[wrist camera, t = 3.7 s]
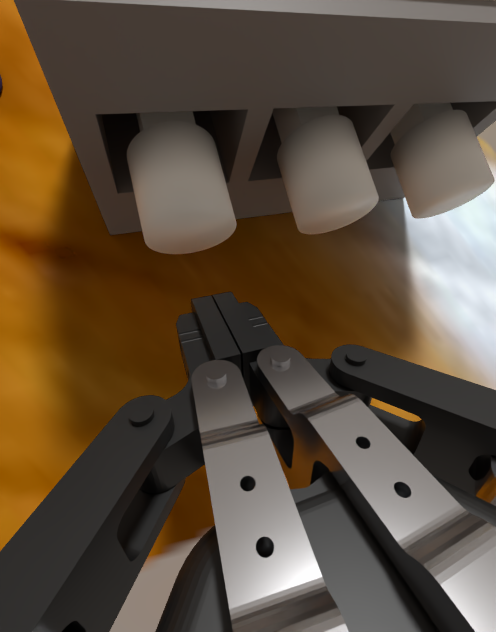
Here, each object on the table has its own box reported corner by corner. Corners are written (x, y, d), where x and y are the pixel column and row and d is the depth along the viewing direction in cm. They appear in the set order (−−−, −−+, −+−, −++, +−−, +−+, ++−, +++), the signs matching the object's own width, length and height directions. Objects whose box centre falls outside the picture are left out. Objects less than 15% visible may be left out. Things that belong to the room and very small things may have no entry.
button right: (397, 222, 17) (452, 180, 14) (360, 118, 18) (403, 55, 15) (449, 214, 18) (513, 173, 15) (411, 116, 19) (462, 56, 16)
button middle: (286, 238, 16) (318, 195, 12) (252, 123, 17) (272, 53, 13) (350, 228, 16) (397, 186, 13) (314, 120, 18) (348, 54, 14)
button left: (148, 259, 14) (139, 215, 10) (120, 129, 15) (104, 51, 11) (228, 247, 15) (245, 203, 11) (197, 125, 16) (203, 52, 12)
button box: (110, 235, 18) (-2, -37, 7) (83, 98, 19) (-45, -317, 8) (403, 198, 23) (625, 11, 12) (365, 92, 25) (529, -163, 13)
